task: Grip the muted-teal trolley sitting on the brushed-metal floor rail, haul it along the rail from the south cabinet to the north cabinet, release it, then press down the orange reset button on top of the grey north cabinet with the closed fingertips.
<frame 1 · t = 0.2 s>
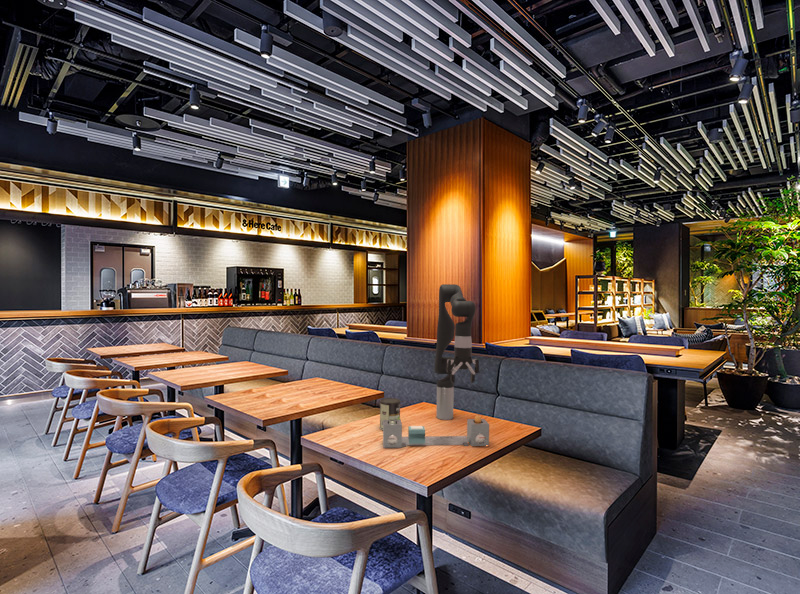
hand: (462, 382, 184), 29 cm above the table, fingers open, 8 cm apart
north cabinet: (477, 443, 189), on the table
carriage: (416, 434, 187), point 4 cm above the table, slide at 0.0 cm
reset button: (478, 420, 189), point 10 cm above the table, slide at 0.0 cm
coffee can: (389, 428, 209), on the table
south cabinet: (392, 444, 186), on the table
rail: (434, 444, 188), on the table
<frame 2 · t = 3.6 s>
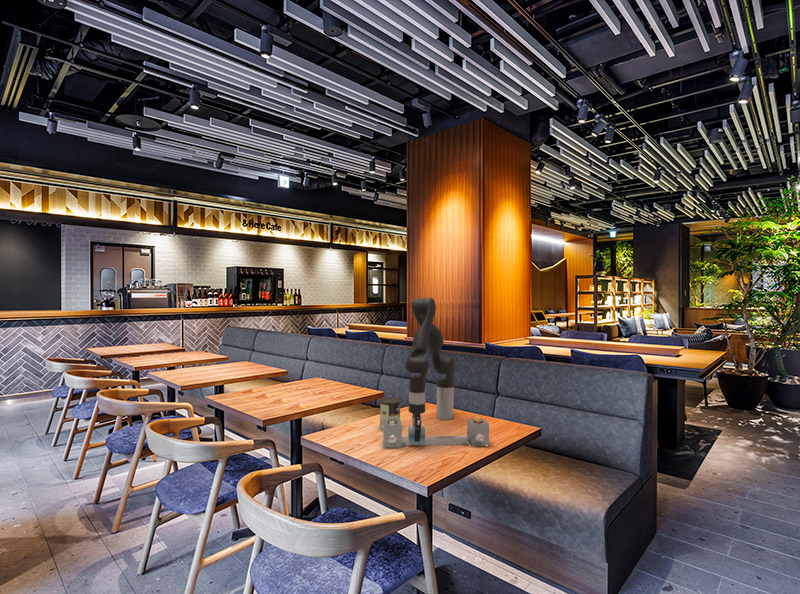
hand: (416, 438, 187), 2 cm above the table, fingers closed on carriage, 5 cm apart
carriage: (416, 434, 187), point 4 cm above the table, slide at 0.0 cm, touching gripper
everything else where it was.
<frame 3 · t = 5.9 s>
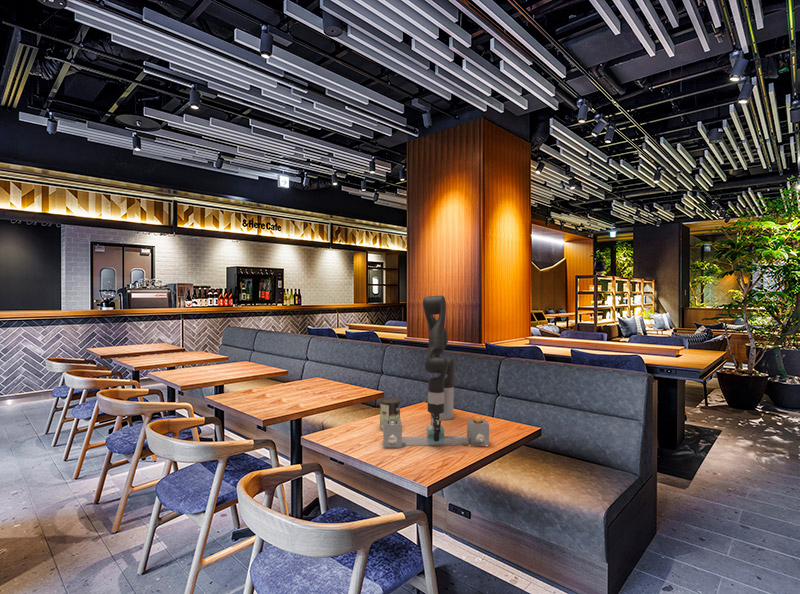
hand: (435, 438, 188), 2 cm above the table, fingers closed on carriage, 5 cm apart
carriage: (435, 434, 188), point 4 cm above the table, slide at 8.5 cm, touching gripper
everything else where it was.
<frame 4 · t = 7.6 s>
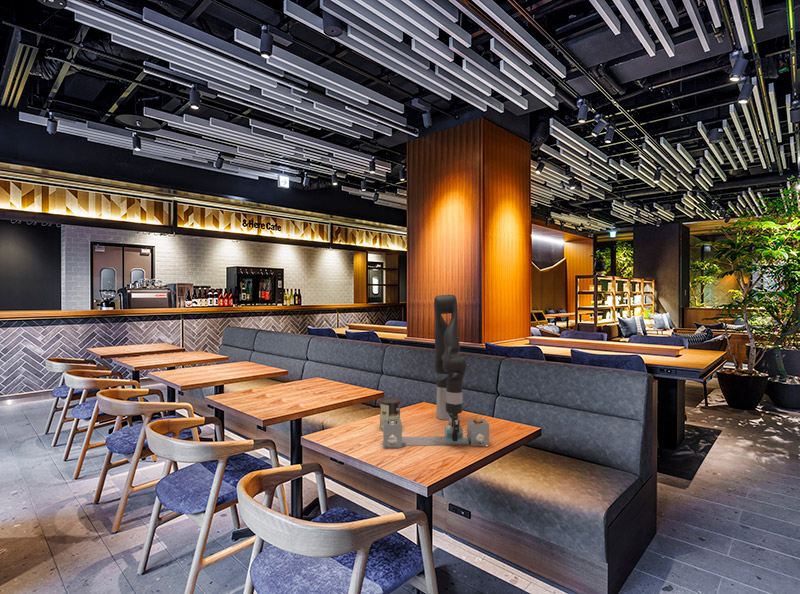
hand: (453, 438, 188), 2 cm above the table, fingers closed on carriage, 5 cm apart
carriage: (453, 433, 188), point 4 cm above the table, slide at 16.9 cm, touching gripper
everything else where it was.
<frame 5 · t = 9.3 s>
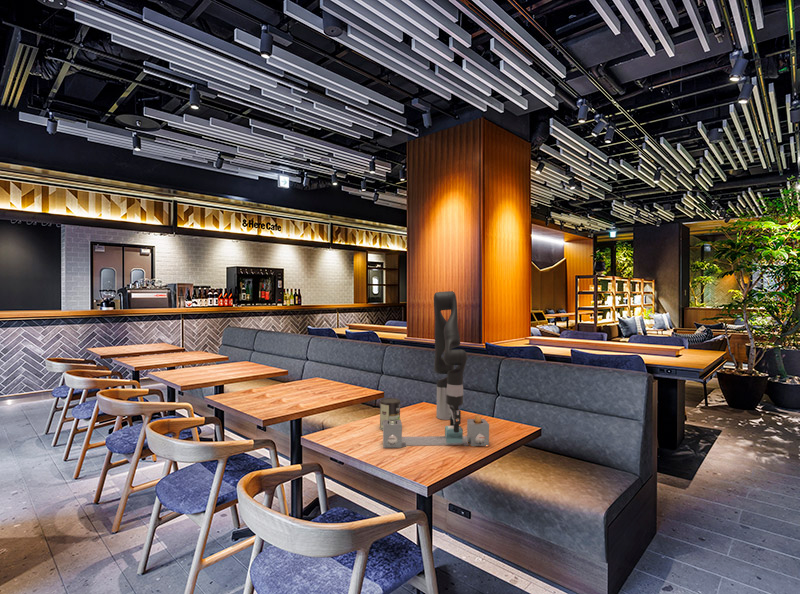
hand: (454, 429, 189), 7 cm above the table, fingers open, 8 cm apart
carriage: (453, 433, 188), point 4 cm above the table, slide at 16.9 cm
everything else where it was.
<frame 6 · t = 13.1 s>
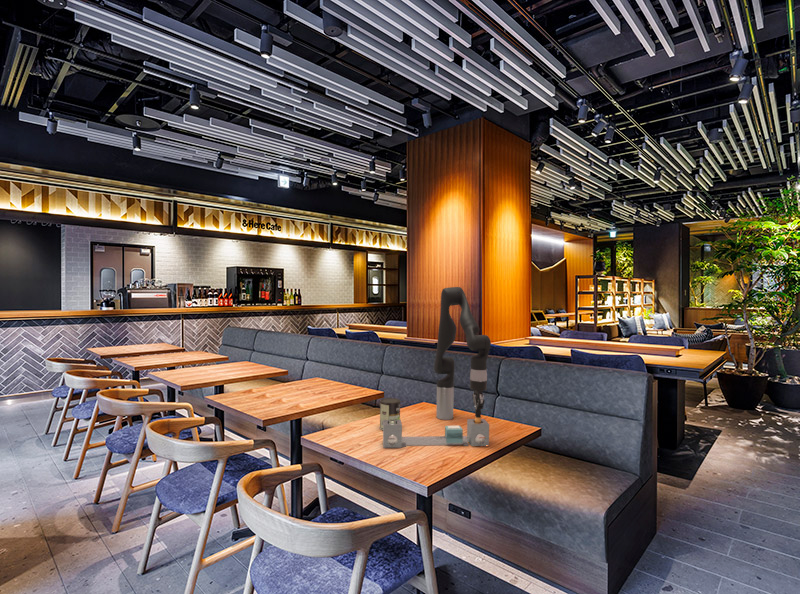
hand: (478, 417, 189), 12 cm above the table, fingers closed
reset button: (478, 421, 189), point 10 cm above the table, slide at 0.4 cm, touching gripper
everything else where it was.
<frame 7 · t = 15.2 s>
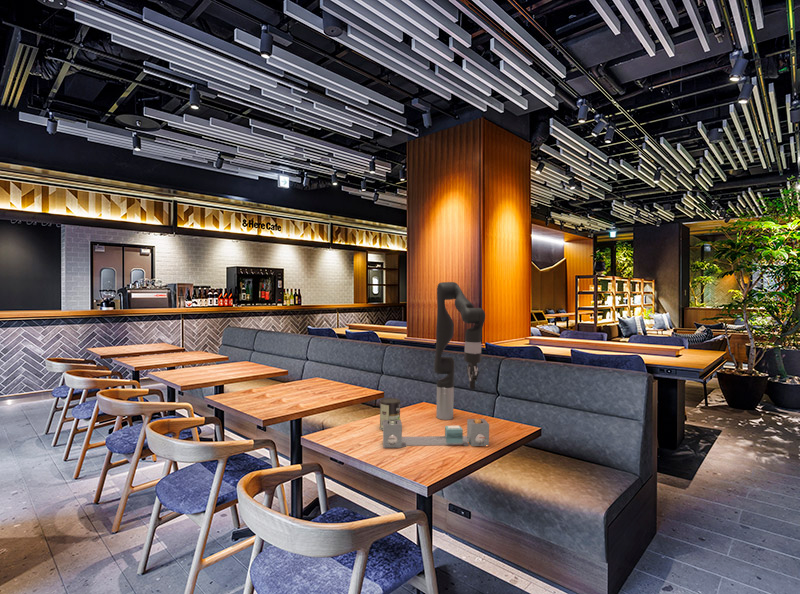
hand: (472, 389, 191), 24 cm above the table, fingers closed
reset button: (477, 424, 189), point 9 cm above the table, slide at 1.7 cm
everything else where it was.
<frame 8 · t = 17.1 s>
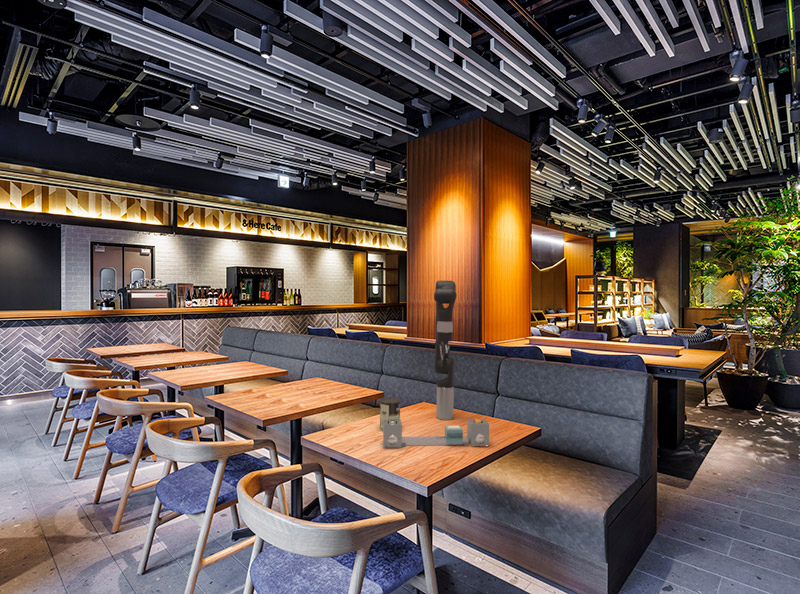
hand: (444, 367, 198), 33 cm above the table, fingers closed
nothing on the table moved.
at the end: carriage slide at 16.9 cm; reset button slide at 1.7 cm; the gripper is holding nothing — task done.
